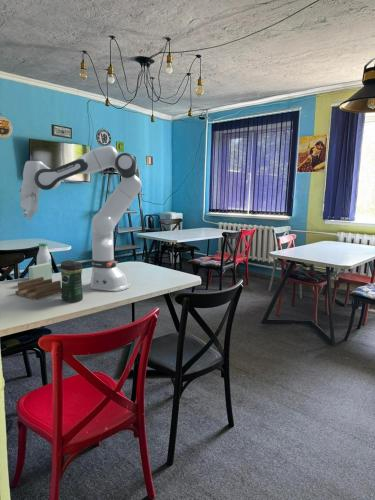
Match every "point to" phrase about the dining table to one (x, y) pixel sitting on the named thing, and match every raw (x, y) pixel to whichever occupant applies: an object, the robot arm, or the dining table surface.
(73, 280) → the coffee jar
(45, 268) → the tall mint green block
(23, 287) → the rack
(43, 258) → the milk bottle
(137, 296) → the dining table surface
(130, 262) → the dining table surface
